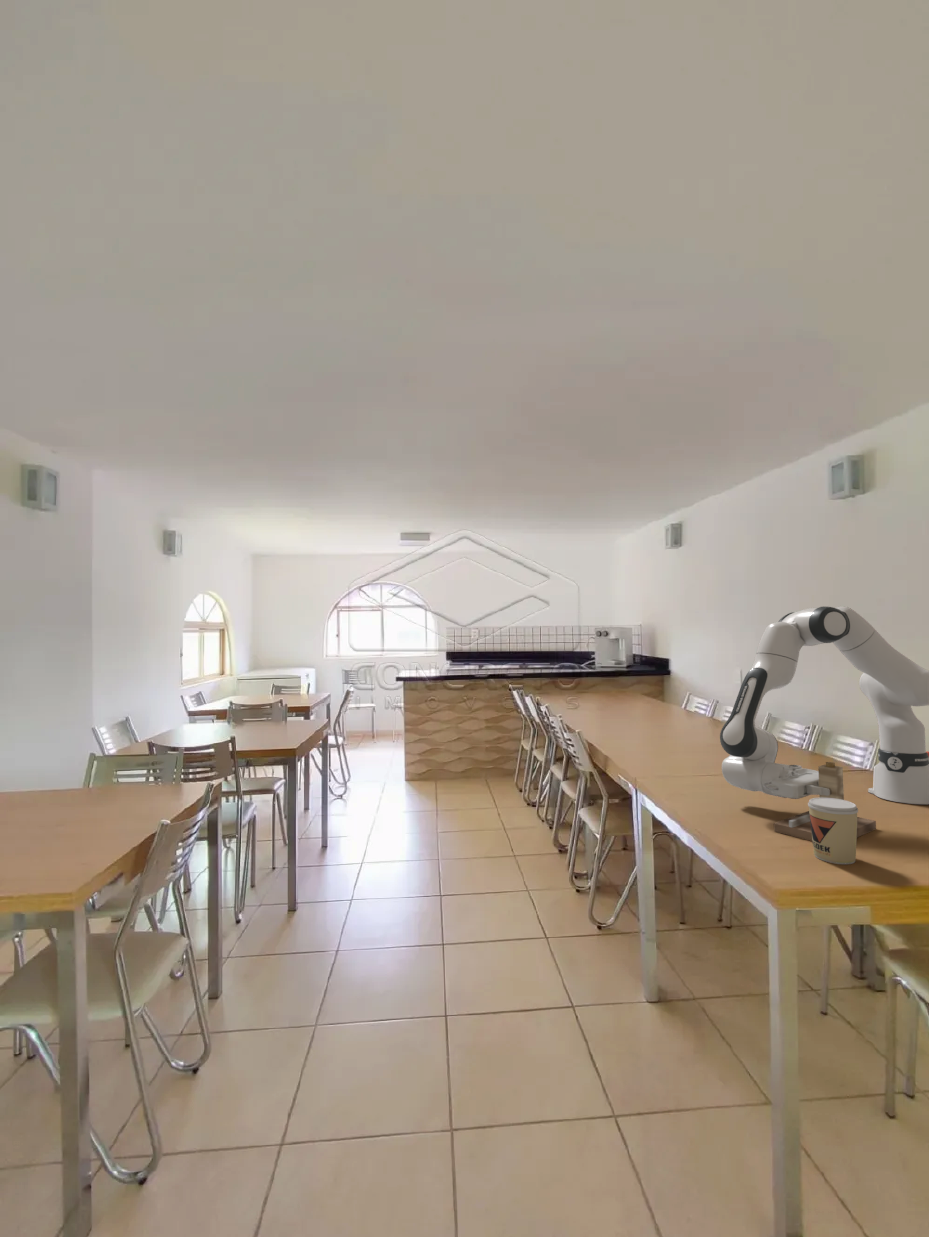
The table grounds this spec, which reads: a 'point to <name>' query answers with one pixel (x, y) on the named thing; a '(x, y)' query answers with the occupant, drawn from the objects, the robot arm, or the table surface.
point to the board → (802, 826)
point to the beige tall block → (831, 780)
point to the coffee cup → (833, 829)
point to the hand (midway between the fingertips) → (835, 790)
